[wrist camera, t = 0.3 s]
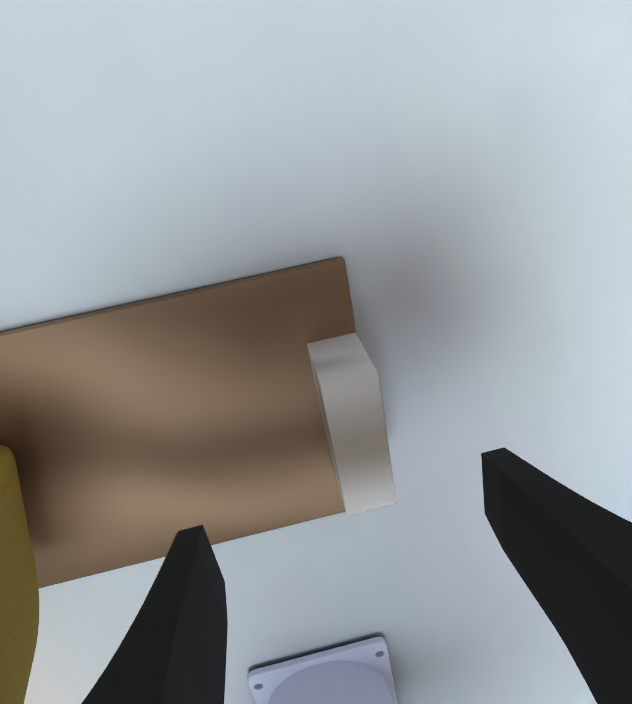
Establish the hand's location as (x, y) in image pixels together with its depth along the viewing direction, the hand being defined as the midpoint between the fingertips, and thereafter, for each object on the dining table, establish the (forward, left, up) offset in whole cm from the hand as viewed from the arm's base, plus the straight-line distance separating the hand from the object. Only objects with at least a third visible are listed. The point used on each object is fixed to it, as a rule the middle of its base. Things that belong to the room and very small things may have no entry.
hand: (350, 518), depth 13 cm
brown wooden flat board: (-2, +9, -9) cm, 13 cm away
